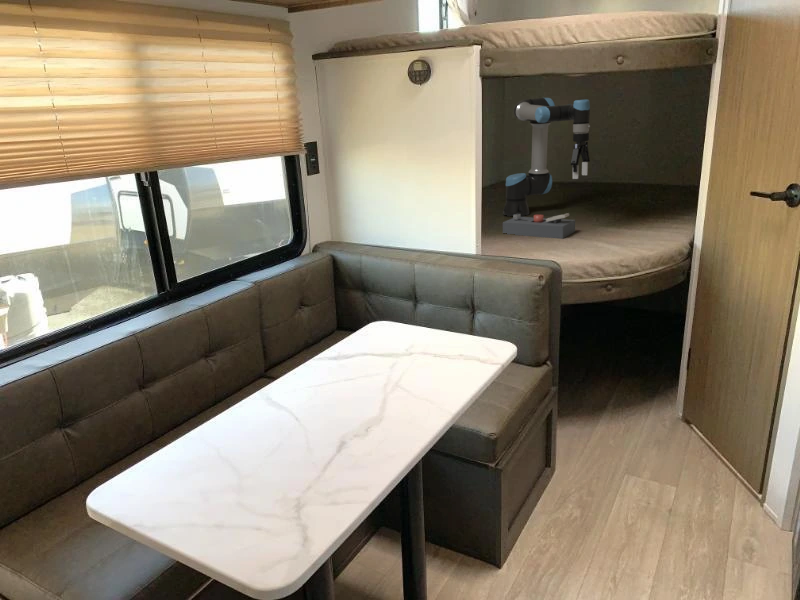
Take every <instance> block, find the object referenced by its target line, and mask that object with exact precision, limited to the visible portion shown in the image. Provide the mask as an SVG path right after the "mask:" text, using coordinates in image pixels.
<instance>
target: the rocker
mask: <svg viewBox="0 0 800 600" xmlns="http://www.w3.org/2000/svg"><path fill="white" fill-rule="evenodd" d="M569 216H570V212H568V213H567V212H566V213H564V214H558V215H554V216H550V217H547V218H548V219H546V222H547V221H552V220H556V219H566V218H567V217H569Z"/></svg>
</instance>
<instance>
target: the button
mask: <svg viewBox="0 0 800 600" xmlns="http://www.w3.org/2000/svg"><path fill="white" fill-rule="evenodd" d="M533 217H534V222H538V223H542V222H543V218H545V216H544V214H540V213H539V214H538V213H537V214H533Z"/></svg>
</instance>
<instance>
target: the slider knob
mask: <svg viewBox="0 0 800 600" xmlns="http://www.w3.org/2000/svg"><path fill="white" fill-rule="evenodd" d="M520 217H521V216H520V214H514V215H513V217H512V218H513V220H518V219H520Z"/></svg>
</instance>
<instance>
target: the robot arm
mask: <svg viewBox="0 0 800 600" xmlns="http://www.w3.org/2000/svg"><path fill="white" fill-rule="evenodd" d="M590 104H591V103H590V100H589V99H576V100H574V101H573V104H572V103H569V104H560V105H555V102H554V101H553V99H552V98H550V97H536V98H525V99H522V100H519V101H518V102H516V104H515V105H514V107H513V110H512V112H513V116H514V118H516V119H517V120H518V121H522V122H529V124H530V125H531V126H532V135H531V136H532V137H531V162H530V163H531V165H530V167H531V168H530V169H529V170H528V175H527V173H524V172H521V173H514V174H510V175H508V176H507V177H505V178H506V179H505V204H504V207H503V209H502V210H503V211H502V215H503V214H504V215H507V216H506V217H510V216H513V215H514V214H520V217H526V216H528V215H530V209H529V206H528V202H527V196H534V195H544V194H545V195H546V194H547V193H549V192H551V189H552V186H553V175H552V174H551V173H550V171H549V170H548V169H547V161H548V142H549V141H548V136H549V126H550V125H551V124H552V123H554V122H563V121H564V122H565V121H566V122H568V121H572V122H573V125H572V133H573V134H572V141H573V142H574V144H573V150H572V156H571V161H570V166H572V180H579V173H580V172H579V170H580V168H579V167H580V166H579V161H580V158H581V160H582V162H581V176H588V173H589V171H588V169H589V166H588V165H589V163H590V161H591V159H590V158H591V157H590V152H589V141H590V133H589V132H590V128H591V125H590V114H591V113H590V112H591V111H590V110H591V105H590ZM504 215H503V216H504ZM525 215H526V216H525Z"/></svg>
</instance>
